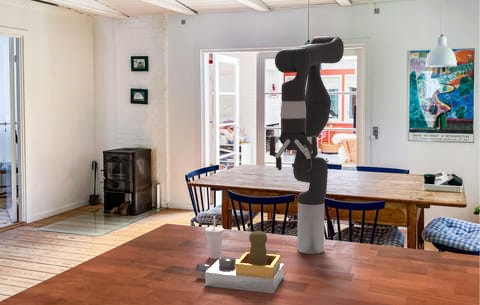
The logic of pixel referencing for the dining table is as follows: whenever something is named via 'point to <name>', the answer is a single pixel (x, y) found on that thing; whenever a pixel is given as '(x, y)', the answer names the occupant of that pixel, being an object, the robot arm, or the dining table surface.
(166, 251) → the dining table surface
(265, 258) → the cork
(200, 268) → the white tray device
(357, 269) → the dining table surface
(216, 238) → the smoothie
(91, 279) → the dining table surface
